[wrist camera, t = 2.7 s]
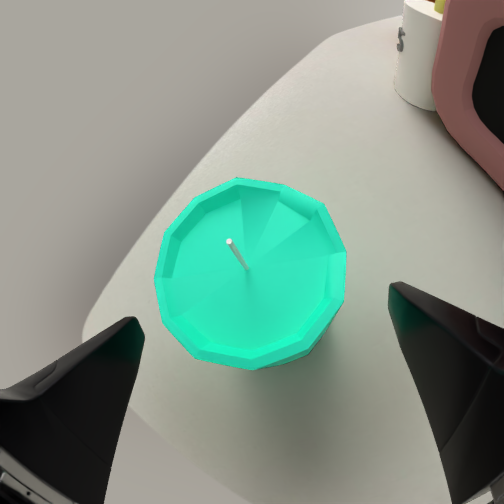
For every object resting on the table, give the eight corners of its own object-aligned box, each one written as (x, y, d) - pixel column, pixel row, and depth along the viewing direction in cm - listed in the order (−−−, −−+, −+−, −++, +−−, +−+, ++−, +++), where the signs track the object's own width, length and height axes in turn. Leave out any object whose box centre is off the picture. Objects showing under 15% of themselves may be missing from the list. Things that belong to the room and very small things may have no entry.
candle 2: (387, 71, 25) (395, -44, 11) (438, 82, 23) (459, -25, 9) (397, 104, 22) (414, -33, 9) (453, 116, 21) (489, -6, 7)
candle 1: (303, 379, 16) (295, 417, 5) (217, 340, 18) (90, 301, 7) (340, 290, 18) (384, 178, 7) (255, 259, 19) (190, 131, 8)
